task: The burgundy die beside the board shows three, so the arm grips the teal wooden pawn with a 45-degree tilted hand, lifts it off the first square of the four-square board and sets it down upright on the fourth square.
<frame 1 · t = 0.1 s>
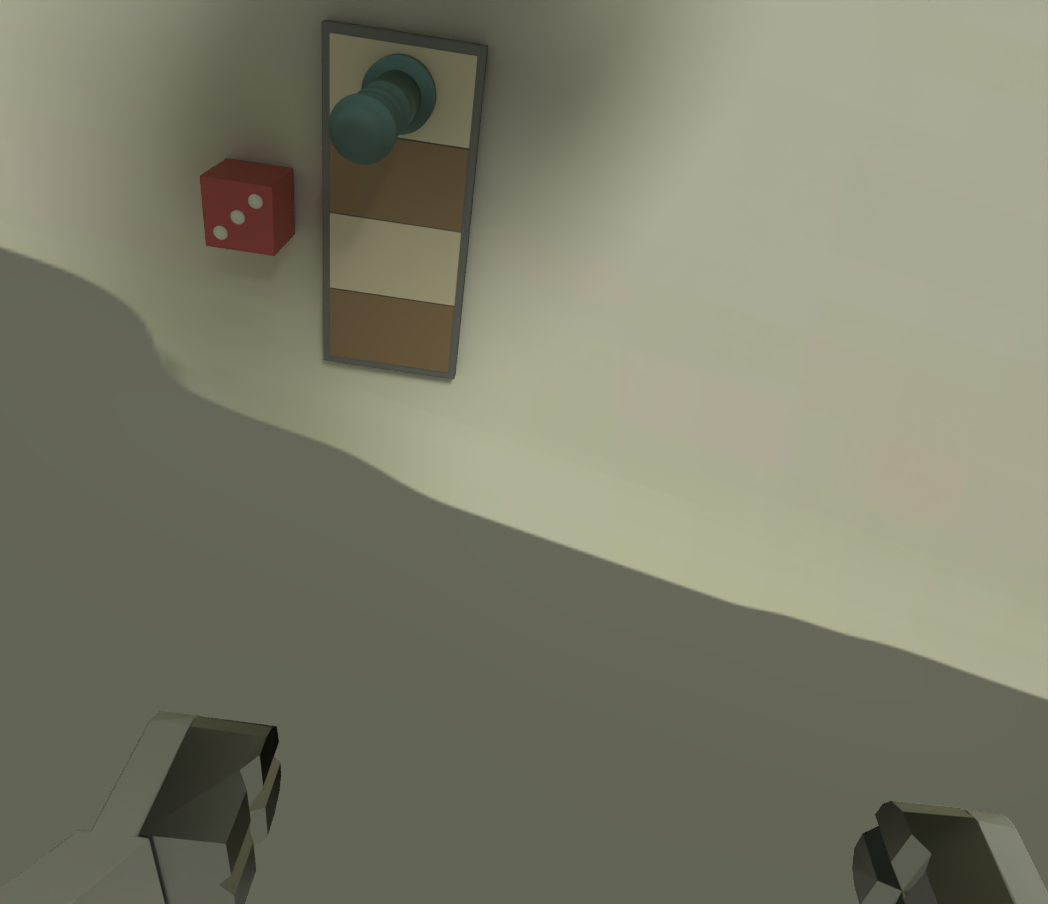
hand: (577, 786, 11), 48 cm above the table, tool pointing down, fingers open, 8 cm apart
pawn: (401, 92, 49), point 1 cm above the table, touching board
board: (398, 217, 55), on the table
die: (261, 197, 54), on the table
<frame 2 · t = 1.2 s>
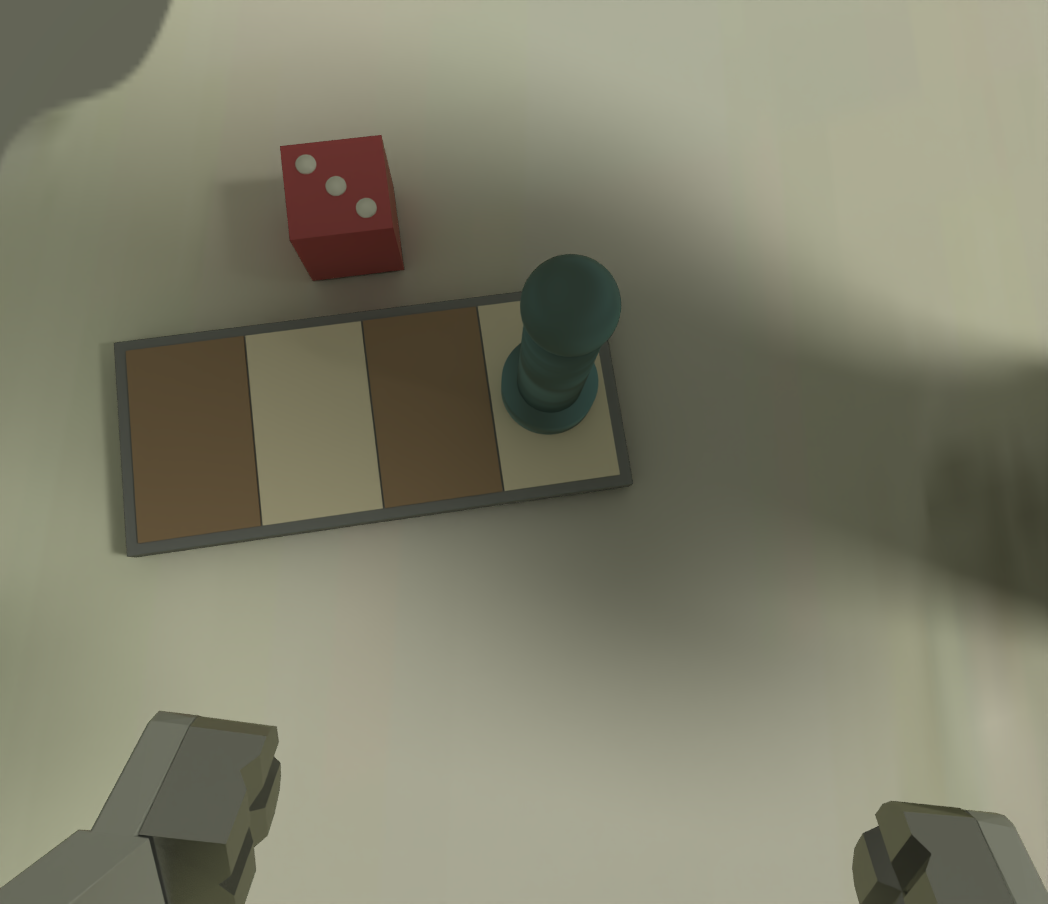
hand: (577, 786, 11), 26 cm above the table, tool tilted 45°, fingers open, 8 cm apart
pawn: (547, 388, 37), point 1 cm above the table, touching board
board: (375, 417, 38), on the table
die: (353, 232, 39), on the table
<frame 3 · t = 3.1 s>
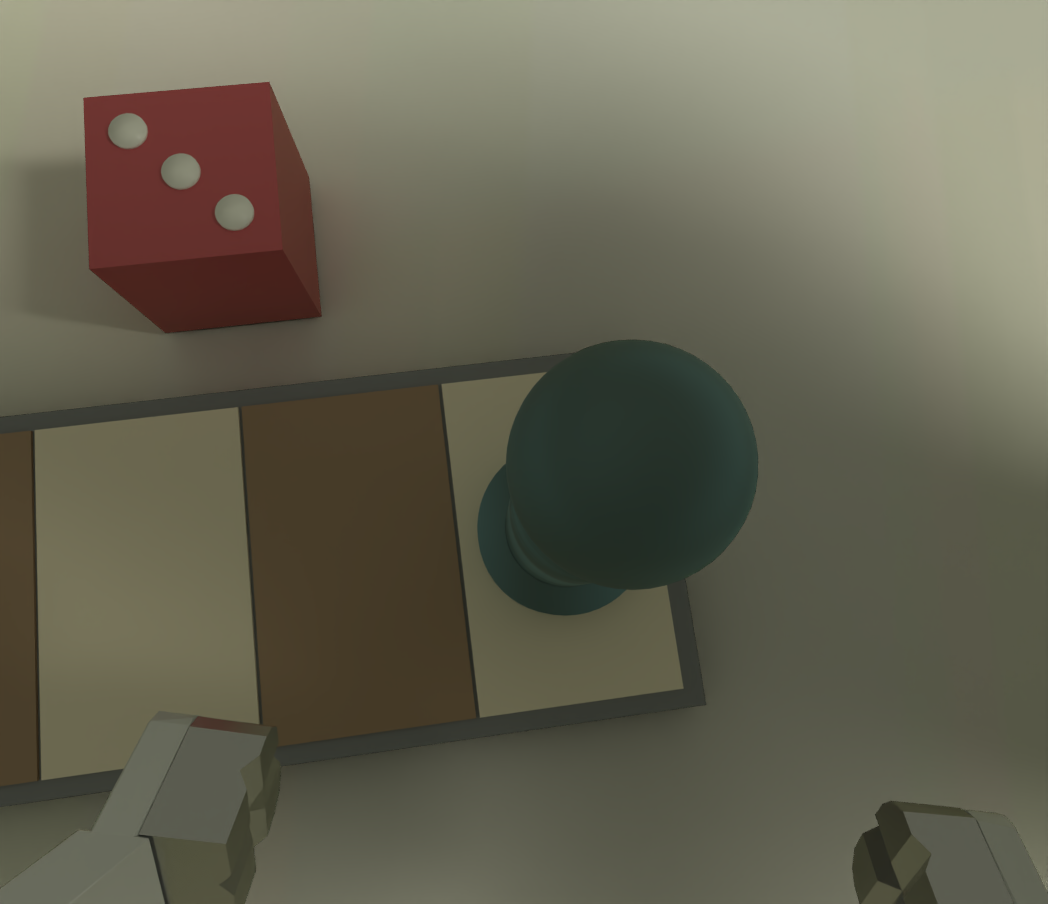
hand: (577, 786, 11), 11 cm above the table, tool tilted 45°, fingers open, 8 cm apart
pawn: (559, 531, 21), point 1 cm above the table, touching board
board: (261, 572, 22), on the table
die: (238, 253, 24), on the table
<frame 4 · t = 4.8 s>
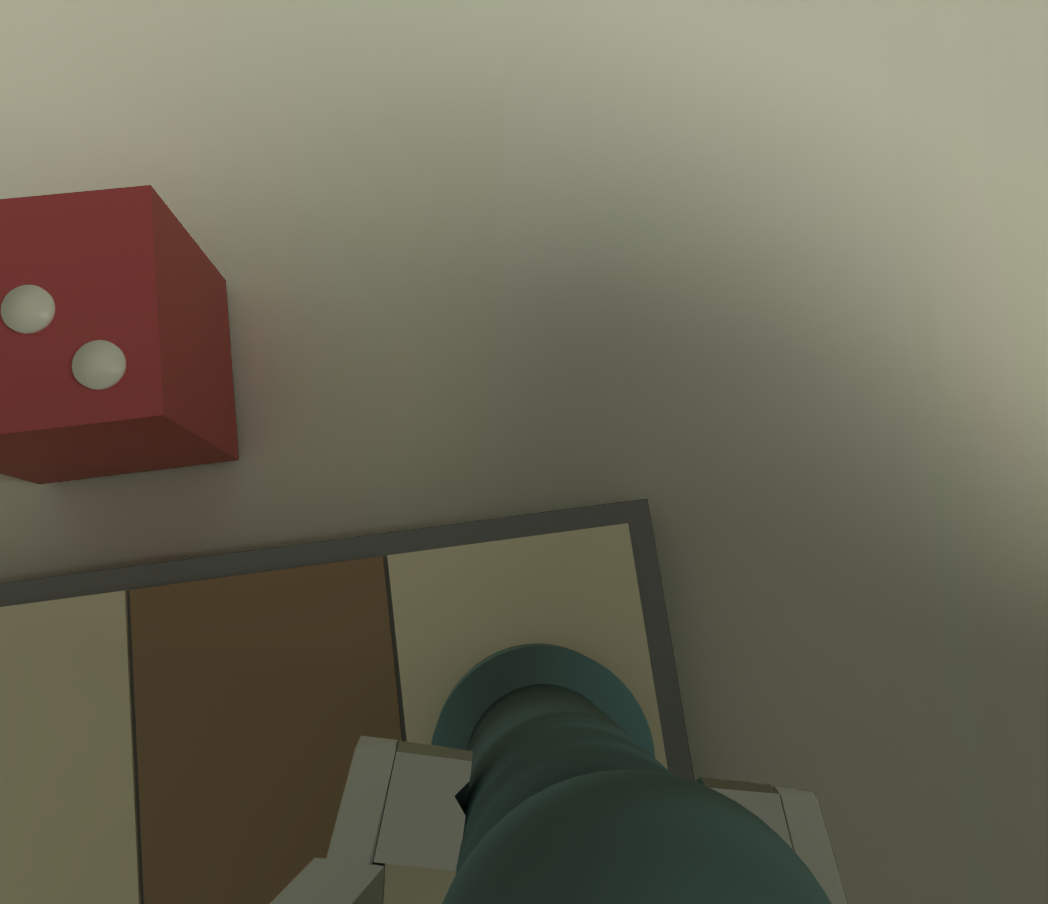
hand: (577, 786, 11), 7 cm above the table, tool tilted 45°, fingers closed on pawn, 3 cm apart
pawn: (537, 750, 17), point 1 cm above the table, touching board, gripper
board: (156, 800, 17), on the table
die: (135, 379, 19), on the table
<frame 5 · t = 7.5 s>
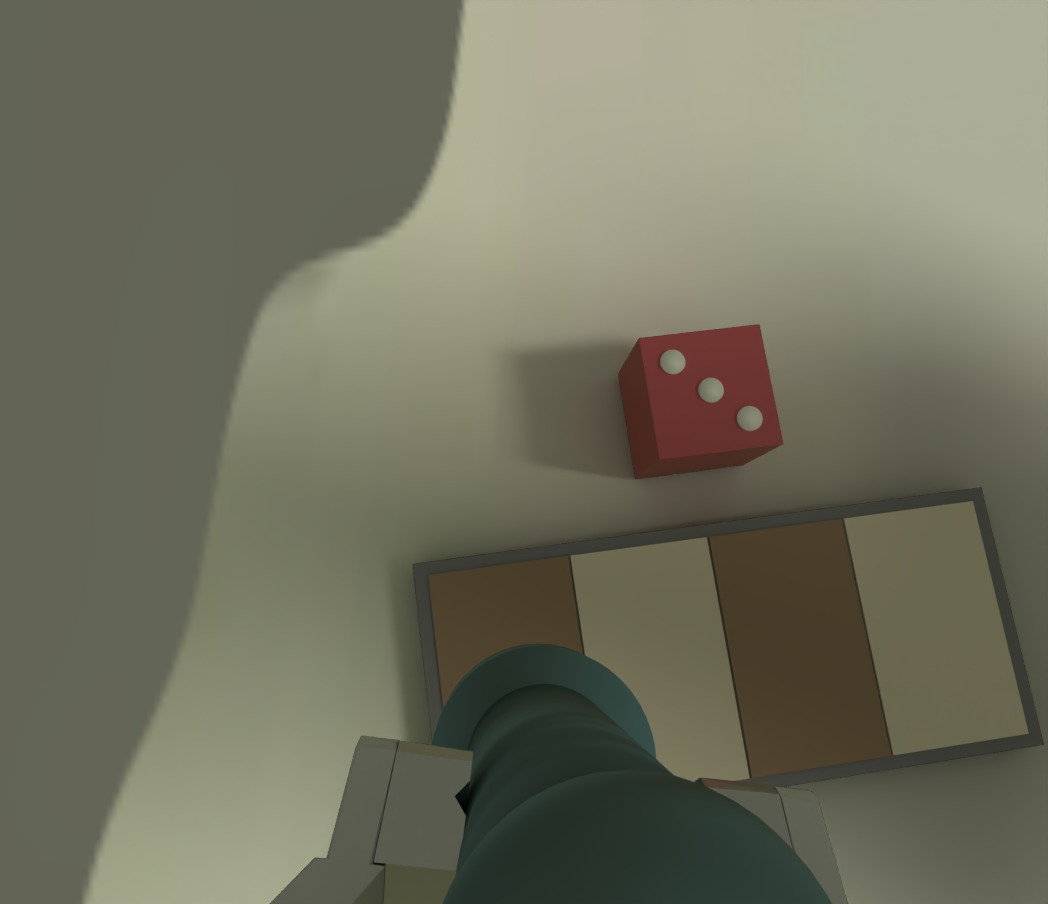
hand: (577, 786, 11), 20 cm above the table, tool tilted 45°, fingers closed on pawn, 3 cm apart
pawn: (538, 750, 17), point 14 cm above the table, touching gripper
board: (721, 652, 31), on the table
die: (679, 419, 33), on the table
when the fingers open (9 cm above the table, at t = 10.4 s): pawn drops 1 cm, resting on board.
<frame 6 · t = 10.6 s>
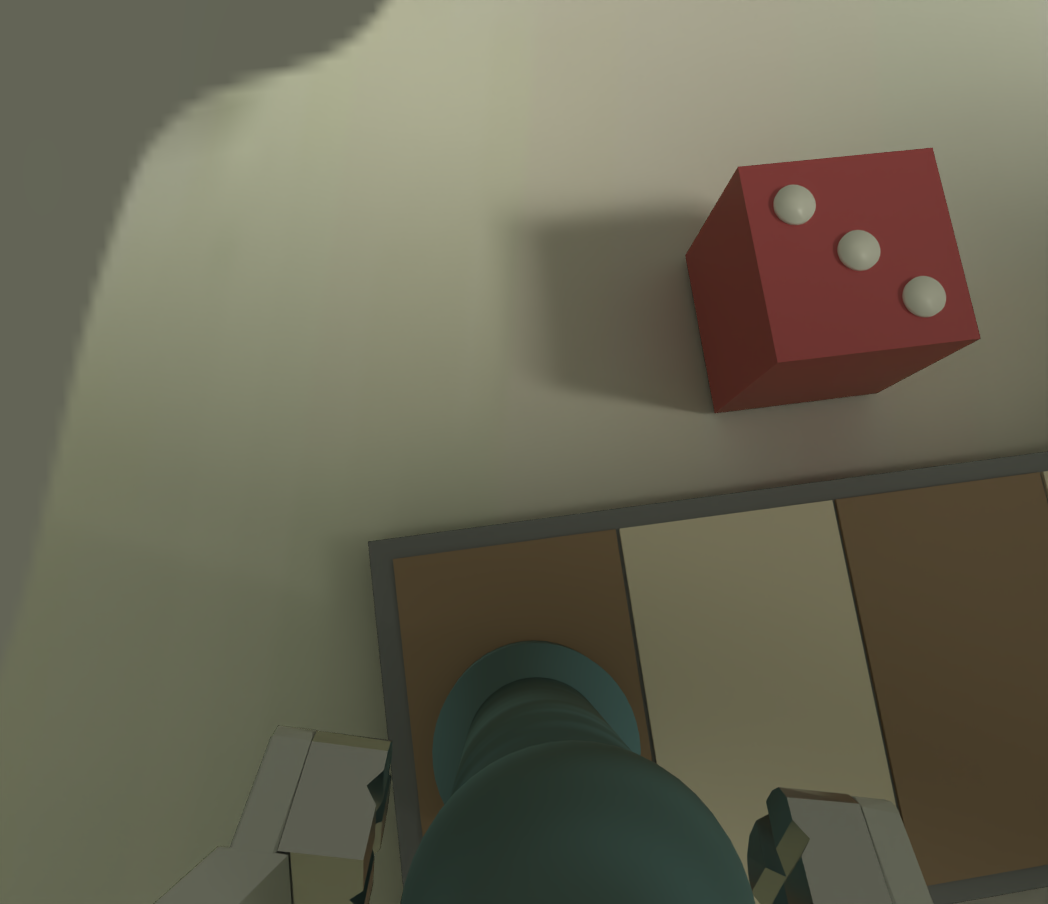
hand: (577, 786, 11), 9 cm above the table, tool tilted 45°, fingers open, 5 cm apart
pawn: (534, 738, 18), point 1 cm above the table, touching board
board: (853, 681, 20), on the table
die: (780, 323, 22), on the table
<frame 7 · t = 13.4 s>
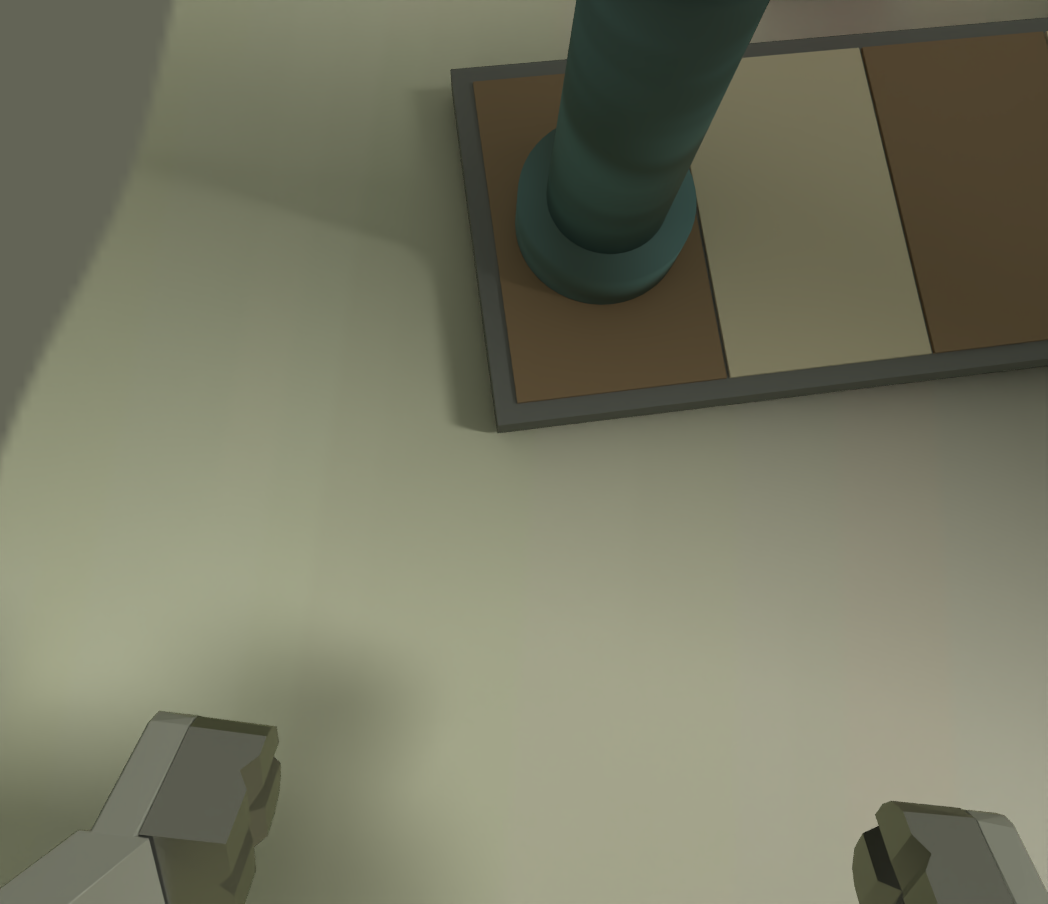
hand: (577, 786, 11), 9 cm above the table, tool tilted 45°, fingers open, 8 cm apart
pawn: (598, 225, 21), point 1 cm above the table, touching board
board: (877, 212, 22), on the table
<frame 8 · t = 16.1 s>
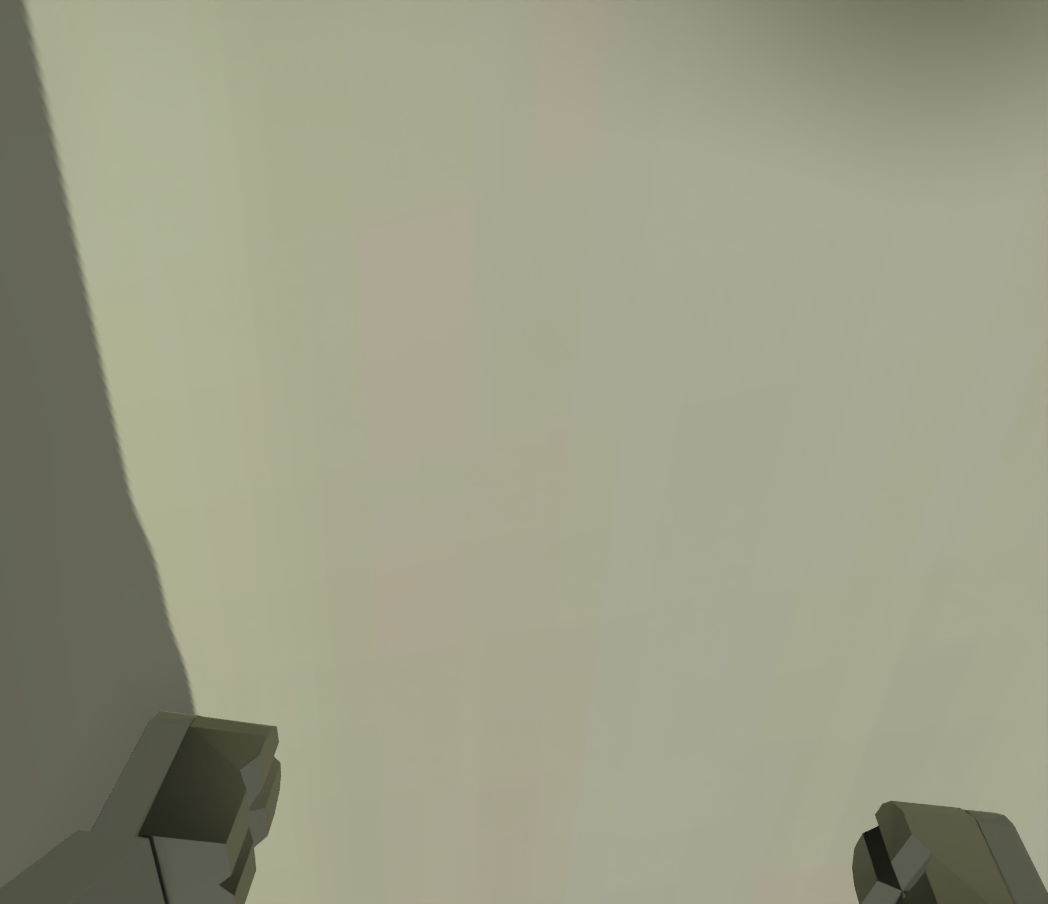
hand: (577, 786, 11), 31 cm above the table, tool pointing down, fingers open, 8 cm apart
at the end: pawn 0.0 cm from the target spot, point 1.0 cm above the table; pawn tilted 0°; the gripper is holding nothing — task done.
